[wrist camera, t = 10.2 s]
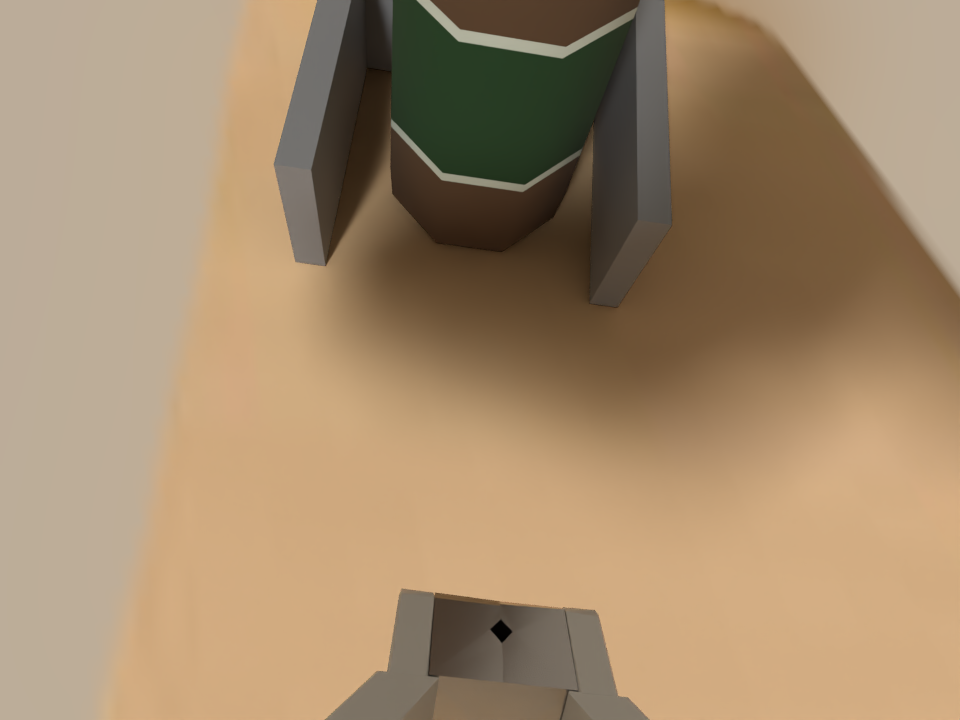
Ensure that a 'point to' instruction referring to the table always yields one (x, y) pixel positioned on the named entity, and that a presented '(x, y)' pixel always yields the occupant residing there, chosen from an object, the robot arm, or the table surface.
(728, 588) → the table surface
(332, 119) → the bottle stall
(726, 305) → the table surface
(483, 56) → the beer bottle
